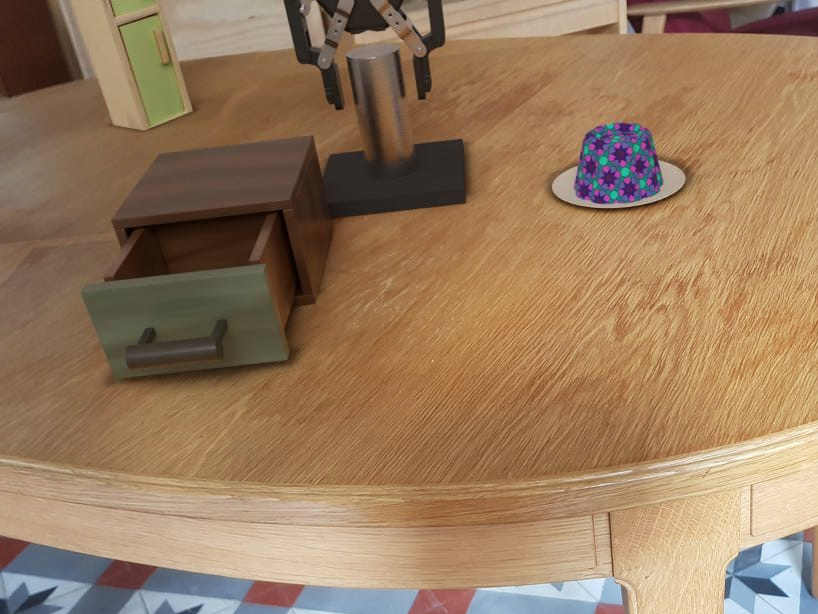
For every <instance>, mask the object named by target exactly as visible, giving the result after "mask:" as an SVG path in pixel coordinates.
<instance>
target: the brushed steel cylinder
mask: <svg viewBox="0 0 818 614" xmlns="http://www.w3.org/2000/svg"><path fill="white" fill-rule="evenodd" d="M345 61H346V66H347V71H348V76H349V82H350V87H351V93H352V99H353V103H354V104H353V105H354V108H355V114H356V120H357V125H358V131H359V136H360V137H359V138H360V141H361V146H362V150H363V153H364V158H365V164H366V169H367V174H368V175H369V176H370V177H373V178H377V179H391V178H397V177H401V176H405V175H407V174H410V173H412V172H413V171H415V170H416V169H417V166H418V165H417V158H416V152H415V145H414V144H415V140H414V133H413V126H412V119H411V111H410V107H409V100H408V93H407V86H406V80H405V74H404V73H405V72H404V66H403V60H402V53H401V46H400V45H398V44H396V43H390V42H389V43H388V42H387V43H386V42H385V43H372V44H367V45H361V46H358V47H355V48H353V49H350V50H348V51H346V53H345Z"/></svg>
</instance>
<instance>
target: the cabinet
mask: <svg viewBox="0 0 818 614" xmlns="http://www.w3.org/2000/svg"><path fill="white" fill-rule="evenodd" d="M277 210H283V215H284V219H285V223H286V227H287V231H288V235H289V239H290V243H291V247H292V251H293V255H294V259H295V263H296V267H297V271H298V275H299V281H298V285H297V288H296V292H295V295H294V299H293V302H292V305H291V307H294V306H295V307H296V306H304V305H314V304H316V302H317V299H318V294H319V290H320V286H321V281H322V278H323V273H324V270H325V266H326V261H327V258H328V254H329V249H330V246H331V241H332V237H333V233H334V225H333V221H332V218H331V215H330V211H329V206H328V202H327V197H326V192H325V188H324V183H323V174H322V169H321V164H320V160H319V156H318V151H317V147H316V141H315V137H314V135H313V134H312V135H304V136H295V137H289V138H288V137H287V138H279V139H270V140H262V141H254V142H246V143H238V144H229V145H222V146H213V147H204V148H196V149H189V150H188V149H187V150H180V151H170V152H162V153H158V154H157V155H156V157H155V158H154V160H153V161H152V163H151V164H150V165H149V167H148V168H147V169H146V171H145V172H144V174H143V175H142V176H141V178H140V179H139V181H138V182H137V183H136V185H135V186H134V187H133V188H132V190H131V191H130V193H129V194H128V195H127V197H126V198H125V199H124V201H123V202H122V204H121V205H120V206H119V207H118V209H117V210H116V212H115V213H114V215H113V216H112V217H111V219H110V222H111V224H112V228H113V230H114V234H115V235H116V239H117V241H118V243H119V247H120V250H121V249H122V247H123V246H124V244H125V243H126V241H127V240H128V238H129V237H130V235H131V234H132V232H133V231H134V229H135V228H136V227H140V226H149V225H157V224H166V223H174V222H183V221H191V220H200V219H209V218H217V217H226V216H234V215H243V214H251V213H260V212H268V211H277Z"/></svg>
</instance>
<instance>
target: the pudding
mask: <svg viewBox="0 0 818 614" xmlns="http://www.w3.org/2000/svg"><path fill="white" fill-rule="evenodd" d="M685 182H686V175H685V173H684V171H683V170H682V169H681V168H679V167H678V166H676V165H674V164H673V163H672V164H671V163H669V162H666V161H663V160H659V158H658V154H657V149H656V146H655V142H654V137H653V134H652V133H651V131H650V130H649V129H648V128H647V127H645V126H643V125H642V124H639V123H636V122H629V123H628V122H627V123H626V122H612V123H609V124H602V125H601V124H600V125H597V126H595V127H594V128H593V129H591V130H589V131H587V132H586V133H585V135H584V137H583V139H582V143H581V149H580V154H579V159H578V164H577V166H574V167H571V168H569V169H567V170H565V171H563V172H562V173H560V174H559V175H557V177H556V178H555V179H554V180H553V182H552V184H551V190H552V192H553V194H554V195H555V196H557V198H559V199H560V200H563V202H567V203H570V204H572V205H576V206H581V207H588V208H597V209H621V208H629V207H637V206H641V205H645V204H649V203H653V202H656V201H660V200H662V199H665V198H667V197H669V196H671V195H673V194H675V193H676V192H678V191H679V190H680V189H681V188H682V187H683V186H684V184H685Z"/></svg>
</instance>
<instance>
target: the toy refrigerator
mask: <svg viewBox="0 0 818 614" xmlns="http://www.w3.org/2000/svg"><path fill="white" fill-rule="evenodd" d="M69 1H70V4H71V7H72V10H73V13H74V15H75V18H76V21H77V24H78V27H79V29H80V32H81V36H82V38H83V41H84V44H85V47H86V50H87V53H88V56H89V59H90V61H91V64H92V68H93V70H94V73H95V76H96V80H97V82H98V86H99V88H100V90H101V93H102V97H103V99H104V102H105V104H106V107H107V110H108V113H109V116H110V119H111V122H112V125H113V126H116V127H123V128H128V129H134V130H139V131H147V130H149V129H151V128H154V127H157V126H160V125H161V124H165V123H166V122H169V121H172V120H175V119H177V118H179V117H182V116H184V115H187V114H190V113H191V112H192V113H193V112H194V110H193V106H192V103H191V99H190V95H189V92H188V90H187V86H186V83H185V79H184V75H183V72H182V68H181V66H180V62H179V58H178V55H177V52H176V47H175V45H174V42H173V38H172V35H171V32H170V28H169V25H168V21H167V17H166V13H165V10H164V7H163V3H162V0H69Z"/></svg>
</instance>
